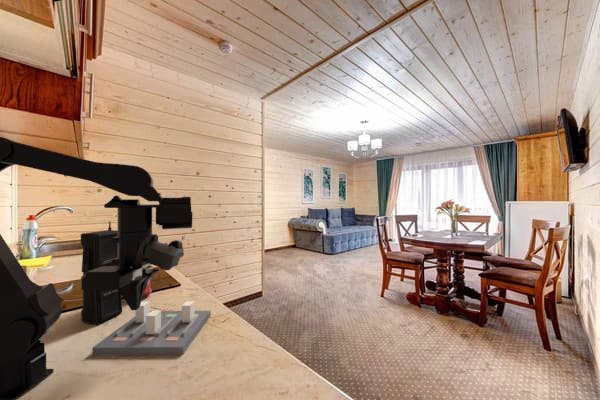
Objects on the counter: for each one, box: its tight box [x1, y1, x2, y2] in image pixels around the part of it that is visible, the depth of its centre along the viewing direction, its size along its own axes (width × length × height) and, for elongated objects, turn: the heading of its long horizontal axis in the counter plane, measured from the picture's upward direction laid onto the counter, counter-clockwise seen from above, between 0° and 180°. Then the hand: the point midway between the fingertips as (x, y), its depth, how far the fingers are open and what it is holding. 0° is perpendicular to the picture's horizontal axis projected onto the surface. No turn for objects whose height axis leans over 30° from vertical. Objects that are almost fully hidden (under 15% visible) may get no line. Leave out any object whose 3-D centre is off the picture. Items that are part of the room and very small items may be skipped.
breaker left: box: [134, 301, 151, 323], centre depth 60 cm, size 2×2×4 cm
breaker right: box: [181, 300, 195, 322], centre depth 60 cm, size 2×2×4 cm
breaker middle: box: [146, 310, 162, 334], centre depth 55 cm, size 2×2×4 cm
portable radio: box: [80, 220, 123, 325], centre depth 64 cm, size 8×6×25 cm
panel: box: [91, 310, 212, 356], centre depth 57 cm, size 18×16×2 cm
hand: (135, 309), depth 49 cm, fingers closed
